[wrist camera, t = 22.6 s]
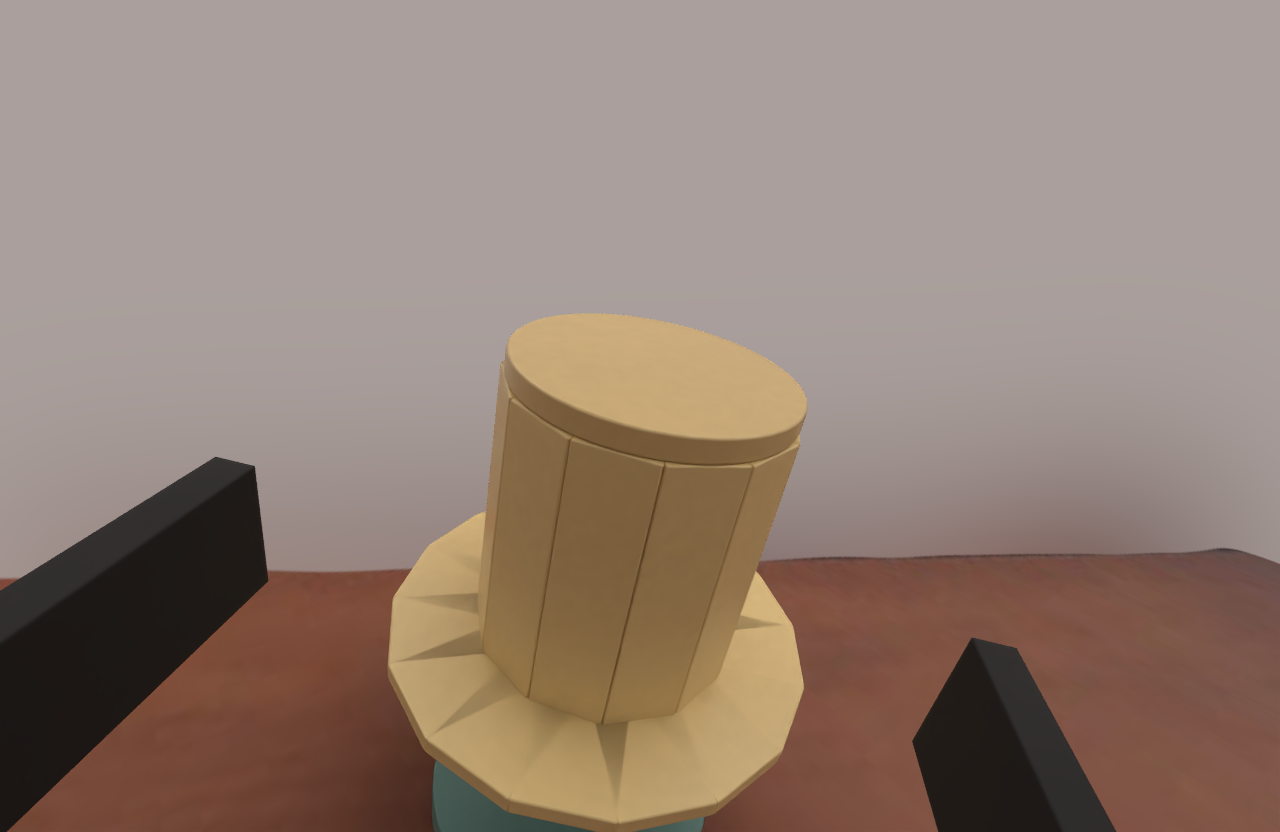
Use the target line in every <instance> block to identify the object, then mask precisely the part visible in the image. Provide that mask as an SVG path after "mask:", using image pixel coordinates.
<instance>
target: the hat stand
mask: <svg viewBox="0 0 1280 832" xmlns="http://www.w3.org/2000/svg"><path fill="white" fill-rule="evenodd" d="M704 818H705V817H701V818H696V819H691V820H686V821H681V822H677V823H672V824H667V825H662V826H657V827H653V828H648V829H643V830H638V831H634V832H701V831H702V828H703V823H704ZM432 822H433V830H434V832H596V831H591V830H587V829H582V828H577V827H573V826H568V825H564V824H559V823H555V822H550V821H546V820H541V819H537V818H532V817H528V816H523V815H518V814H514V813H509V812H508V811H505V810H503V809H502V808H501V807H499V806H498V805H497V804H495V803H494V802H493V801H491V800H490V799H489V798H487V797H486V796H484V795H483V794H482V793H480V792H479V791H478V790H476V789H475V788H474V787H472V786H471V785H470V784H468V783H467V782H466V781H464V780H463V779H461V778H460V777H459V776H457V775H456V774H455V773H453V772H452V771H451V770H449V769H448V768H447V767H445V766H444V765H443V764H441V763H440V762H438V761H437V760H436V762H435V766H434V774H433V789H432Z"/></svg>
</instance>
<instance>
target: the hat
mask: <svg viewBox="0 0 1280 832" xmlns="http://www.w3.org/2000/svg"><path fill="white" fill-rule="evenodd" d="M806 414H807V400H806V396H805V394H804V392H803V390H802V388H801V387H800V386H799V385H798V383H797V382H796V381H795V380H794V379H793V378H792V377H791V376H790V375H789V374H788V373H786V372H785V371H784V370H782V369H781V368H780V367H778V366H777V365H775V364H774V363H772V362H771V361H769V360H768V359H766V358H764V357H762V356H760V355H759V354H757V353H755V352H753V351H751V350H749V349H747V348H744V347H742V346H740V345H738V344H735V343H733V342H731V341H728V340H726V339H723V338H720V337H717V336H715V335H711V334H709V333H706V332H702V331H699V330H696V329H692V328H689V327H685V326H681V325H677V324H672V323H668V322H663V321H658V320H653V319H647V318H641V317H634V316H625V315H615V314H593V313H592V314H591V313H590V314H588V313H587V314H567V315H558V316H552V317H547V318H543V319H538V320H536V321H533V322H530V323H528V324H526V325H524V326H522V327H520V328H519V329H518V330H517V331H515V332H514V333H513V334H512V336H511V337H510V339H509V340H508V343H507V346H506V354H505V360H504V361H503V362H502V364H501V366H500V375H499V386H498V396H497V405H496V416H495V426H494V436H493V446H492V456H491V466H490V476H489V486H488V496H487V506H486V512H483V513H479V514H477V515H475V516H474V517H472V518H471V519H469V520H467V521H466V522H464V523H463V524H461V525H460V526H458V527H457V528H455V529H454V530H452V531H450V532H449V533H447V534H446V535H444V536H443V537H441V538H439V539H438V540H436V541H435V542H433V543H432V544H430V545H429V546H428V547H427V548H426V549H425V551H424V552H423V554H422V555H421V557H420V558H419V560H418V561H417V563H416V564H415V566H414V567H413V569H412V570H411V572H410V573H409V575H408V576H407V578H406V579H405V581H404V582H403V584H402V585H401V587H400V588H399V590H398V591H397V593H396V594H395V596H394V598H393V601H392V614H391V628H390V641H389V655H388V679H389V681H390V683H391V685H392V687H393V689H394V691H395V693H396V695H397V697H398V699H399V701H400V703H401V705H402V707H403V709H404V711H405V713H406V715H407V717H408V719H409V721H410V723H411V725H412V727H413V729H414V731H415V733H416V735H417V737H418V739H419V741H420V743H421V745H422V747H423V749H424V751H426V753H428V754H429V755H430V756H432V757H433V758H434V759H436V760H437V761H438V762H440V763H441V764H443V765H444V766H445V767H447V768H448V769H449V770H451V771H452V772H453V773H455V774H456V775H457V776H459V777H460V778H461V779H463V780H464V781H466V782H467V783H468V784H470V785H471V786H472V787H474V788H475V789H476V790H478V791H479V792H480V793H482V794H483V795H484V796H486V797H487V798H489V799H490V800H491V801H493V802H494V803H495V804H497V805H498V806H499V807H501V808H502V809H503V810H505V811H508V812H509V813H514V814H518V815H523V816H528V817H532V818H537V819H541V820H546V821H550V822H555V823H559V824H564V825H568V826H573V827H577V828H582V829H587V830H591V831H596V832H634V831H638V830H643V829H648V828H653V827H657V826H662V825H667V824H672V823H677V822H681V821H686V820H691V819H696V818H701V817H705V816H710V815H712V814H715V813H716V812H717V811H719V810H720V809H721V808H722V807H724V806H725V805H726V804H727V803H728V802H730V801H731V800H732V799H733V798H734V797H736V796H737V795H738V794H739V793H740V792H742V791H743V790H744V789H745V788H747V787H748V786H749V785H750V784H751V783H753V782H754V781H755V780H756V779H757V778H759V777H760V776H761V775H762V774H764V773H765V772H766V771H767V770H768V769H770V768H771V767H772V766H773V765H774V764H776V763H777V761H778V760H779V757H780V755H781V753H782V751H783V748H784V745H785V742H786V739H787V736H788V733H789V731H790V728H791V725H792V722H793V719H794V716H795V713H796V711H797V708H798V705H799V702H800V699H801V696H802V693H803V691H804V684H803V678H802V673H801V667H800V662H799V656H798V651H797V645H796V640H795V634H794V629H793V626H792V624H791V622H790V621H789V619H788V618H787V616H786V615H785V613H784V611H783V610H782V608H781V607H780V605H779V604H778V602H777V601H776V599H775V598H774V596H773V595H772V593H771V592H770V590H769V589H768V587H767V586H766V584H765V583H764V581H763V579H762V578H761V576H760V575H759V574H758V573H757V572H756V569H757V566H758V563H759V561H760V557H761V555H762V552H763V549H764V546H765V543H766V541H767V538H768V535H769V532H770V529H771V526H772V523H773V521H774V518H775V515H776V512H777V509H778V506H779V503H780V501H781V498H782V495H783V492H784V489H785V486H786V483H787V481H788V478H789V475H790V472H791V469H792V466H793V464H794V460H795V458H796V455H797V452H798V449H799V446H800V431H801V428H802V425H803V423H804V420H805V417H806Z"/></svg>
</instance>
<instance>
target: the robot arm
mask: <svg viewBox="0 0 1280 832" xmlns="http://www.w3.org/2000/svg"><path fill="white" fill-rule="evenodd" d="M267 582H268V574H267V566H266V558H265V550H264V540H263V532H262V523H261V516H260V507H259V499H258V490H257V482H256V474H255V466H252V465H248V464H243V463H239V462H235V461H231V460H227V459H222V458H218V457H215V458H213V459H211V460H210V461H208V462H206V463H205V464H203V465H202V466H200V467H199V468H197V469H195V470H194V471H192V472H190V473H189V474H187V475H186V476H184V477H182V478H181V479H179V480H177V481H176V482H174V483H173V484H171V485H169V486H168V487H166V488H165V489H163V490H161V491H160V492H158V493H157V494H155V495H153V496H152V497H151V498H149V499H147V500H145V501H144V502H143V503H141V504H139V505H137V506H136V507H134V508H133V509H131V510H129V511H128V512H126V513H125V514H123V515H121V516H120V517H118V518H117V519H115V520H114V521H112V522H110V523H109V524H107V525H106V526H104V527H102V528H100V529H99V530H97V531H96V532H94V533H92V534H91V535H89V536H88V537H86V538H84V539H83V540H81V541H80V542H78V543H76V544H75V545H73V546H72V547H70V548H68V549H67V550H65V551H64V552H62V553H60V554H59V555H57V556H55V557H54V558H52V559H51V560H49V561H47V562H46V563H44V564H43V565H41V566H39V567H38V568H36V569H35V570H33V571H31V572H30V573H28V574H27V575H25V576H23V577H22V578H20V579H19V580H17V581H15V582H14V583H12V584H11V585H9V586H7V587H6V588H4V589H3V590H1V591H0V832H7V831H8V830H9V829H10V828H11V827H12V826H13V825H14V824H15V823H16V822H17V821H18V820H19V819H20V818H21V817H22V816H23V815H25V814H26V813H27V812H28V811H29V810H30V809H31V808H32V807H33V806H34V805H35V804H36V803H37V802H38V801H39V800H40V799H41V798H42V797H43V796H44V795H45V794H46V793H47V792H49V791H50V790H51V789H52V788H53V787H54V786H55V785H56V784H57V783H58V782H59V781H60V780H61V779H62V778H63V777H64V776H65V775H66V774H67V773H68V772H69V771H70V770H71V769H73V768H74V767H75V766H76V765H77V764H78V763H79V762H80V761H81V760H82V759H83V758H84V757H85V756H86V755H87V754H88V753H89V752H90V751H91V750H92V749H93V748H94V747H95V746H97V745H98V744H99V743H100V742H101V741H102V740H103V739H104V738H105V737H106V736H107V735H108V734H109V733H110V732H111V731H112V730H113V729H114V728H115V727H116V726H117V725H118V724H119V723H121V722H122V721H123V720H124V719H125V718H126V717H127V716H128V715H129V714H130V713H131V712H132V711H133V710H134V709H135V708H136V707H137V706H138V705H139V704H140V703H141V702H142V701H143V700H145V699H146V698H147V697H148V696H149V695H150V694H151V693H152V692H153V691H154V690H155V689H156V688H157V687H158V686H159V685H160V684H161V683H162V682H163V681H164V680H165V679H166V678H167V677H169V676H170V675H171V674H172V673H173V672H174V671H175V670H176V669H177V668H178V667H179V666H180V665H181V664H182V663H183V662H184V661H185V660H186V659H187V658H188V657H189V656H190V655H191V654H193V653H194V652H195V651H196V650H197V649H198V648H199V647H200V646H201V645H202V644H203V643H204V642H205V641H206V640H207V639H208V638H209V637H210V636H211V635H212V634H213V633H214V632H215V631H217V630H218V629H219V628H220V627H221V626H222V625H223V624H224V623H225V622H226V621H227V620H228V619H229V618H230V617H231V616H232V615H233V614H234V613H235V612H236V611H237V610H238V609H239V608H241V607H242V606H243V605H244V604H245V603H246V602H247V601H248V600H249V599H250V598H251V597H252V596H253V595H254V594H255V593H256V592H257V591H258V590H259V589H260V588H261V587H262V586H263V585H265V584H266V583H267ZM912 742H913V746H914V749H915V753H916V756H917V759H918V763H919V766H920V770H921V773H922V777H923V780H924V784H925V787H926V791H927V794H928V797H929V801H930V804H931V808H932V811H933V815H934V818H935V822H936V825H937V829H938V832H1116V830H1115V829H1114V827H1113V825H1112V823H1111V821H1110V819H1109V818H1108V816H1107V814H1106V812H1105V810H1104V808H1103V806H1102V805H1101V803H1100V801H1099V799H1098V797H1097V795H1096V794H1095V792H1094V790H1093V788H1092V786H1091V784H1090V783H1089V781H1088V779H1087V777H1086V775H1085V773H1084V772H1083V770H1082V768H1081V766H1080V764H1079V762H1078V760H1077V759H1076V757H1075V755H1074V753H1073V751H1072V749H1071V748H1070V746H1069V744H1068V742H1067V740H1066V738H1065V737H1064V735H1063V733H1062V731H1061V729H1060V727H1059V726H1058V724H1057V722H1056V720H1055V718H1054V716H1053V714H1052V713H1051V711H1050V709H1049V707H1048V705H1047V703H1046V702H1045V700H1044V698H1043V696H1042V694H1041V692H1040V691H1039V689H1038V687H1037V685H1036V683H1035V681H1034V680H1033V678H1032V676H1031V674H1030V672H1029V670H1028V668H1027V667H1026V665H1025V663H1024V661H1023V659H1022V657H1021V656H1020V654H1019V652H1018V650H1017V648H1013V647H1009V646H1005V645H1001V644H997V643H992V642H988V641H984V640H980V639H976V638H971V640H970V642H969V643H968V645H967V647H966V649H965V650H964V652H963V654H962V656H961V657H960V659H959V661H958V662H957V664H956V666H955V668H954V669H953V671H952V673H951V675H950V676H949V678H948V680H947V682H946V683H945V685H944V687H943V689H942V690H941V692H940V694H939V695H938V697H937V699H936V701H935V702H934V704H933V706H932V708H931V709H930V711H929V713H928V715H927V716H926V718H925V720H924V722H923V723H922V725H921V727H920V728H919V730H918V732H917V734H916V735H915V737H914V739H913V741H912Z"/></svg>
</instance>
